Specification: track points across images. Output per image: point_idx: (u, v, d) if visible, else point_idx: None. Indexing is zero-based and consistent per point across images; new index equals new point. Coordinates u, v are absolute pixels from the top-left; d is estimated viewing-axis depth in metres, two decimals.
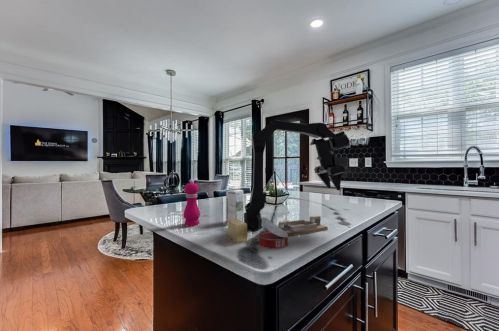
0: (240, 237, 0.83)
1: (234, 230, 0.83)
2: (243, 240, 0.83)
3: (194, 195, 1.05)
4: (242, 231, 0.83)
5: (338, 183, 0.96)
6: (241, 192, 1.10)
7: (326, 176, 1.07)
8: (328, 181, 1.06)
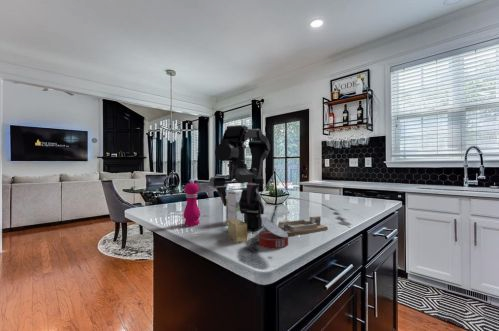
0: (240, 237, 0.83)
1: (234, 230, 0.83)
2: (243, 240, 0.83)
3: (194, 195, 1.05)
4: (242, 231, 0.83)
5: (222, 198, 0.84)
6: (241, 192, 1.10)
7: (249, 189, 0.88)
8: (249, 196, 0.88)
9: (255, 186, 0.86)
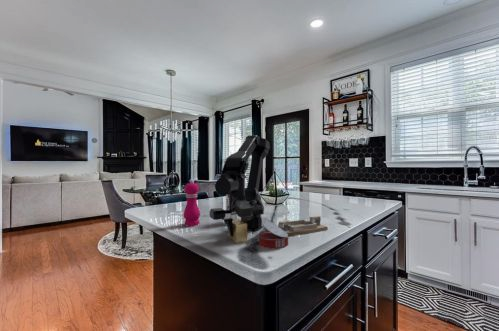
0: (240, 237, 0.83)
1: (234, 230, 0.83)
2: (243, 240, 0.83)
3: (194, 195, 1.05)
4: (242, 231, 0.83)
5: (228, 228, 0.85)
6: None
7: (243, 220, 0.87)
8: None
9: (249, 217, 0.86)
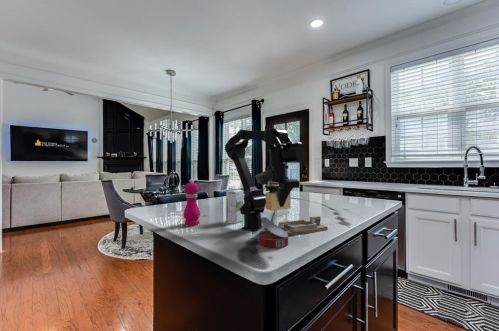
0: (267, 204, 0.88)
1: None
2: (269, 208, 0.87)
3: (194, 195, 1.05)
4: (268, 199, 0.87)
5: None
6: (241, 192, 1.10)
7: None
8: None
9: (277, 189, 0.85)
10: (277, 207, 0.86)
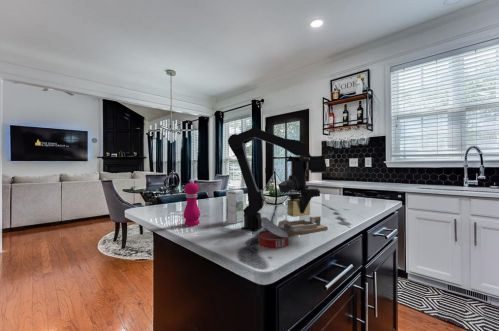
0: (289, 211, 0.95)
1: None
2: (291, 214, 0.94)
3: (194, 195, 1.05)
4: (290, 206, 0.94)
5: None
6: (241, 192, 1.10)
7: None
8: None
9: (298, 197, 0.92)
10: (298, 213, 0.94)
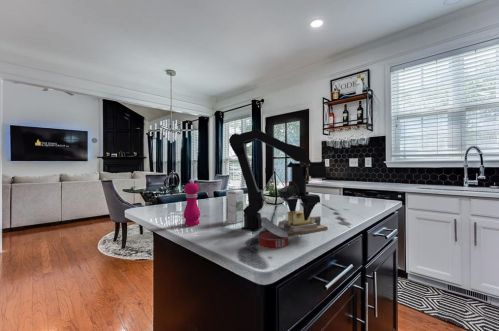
0: (289, 223, 0.95)
1: None
2: None
3: (194, 195, 1.05)
4: (290, 219, 0.95)
5: None
6: (241, 192, 1.10)
7: None
8: None
9: (302, 204, 0.90)
10: (298, 225, 0.94)
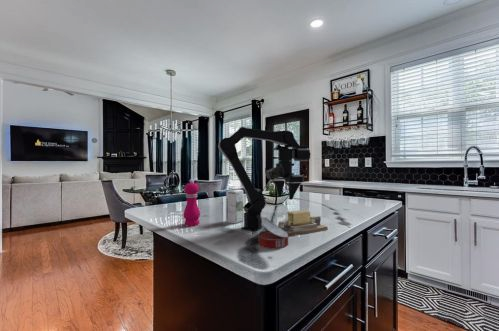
0: (289, 223, 0.95)
1: None
2: None
3: (194, 195, 1.05)
4: (290, 219, 0.95)
5: None
6: (241, 192, 1.10)
7: None
8: None
9: (286, 183, 0.96)
10: (298, 225, 0.94)
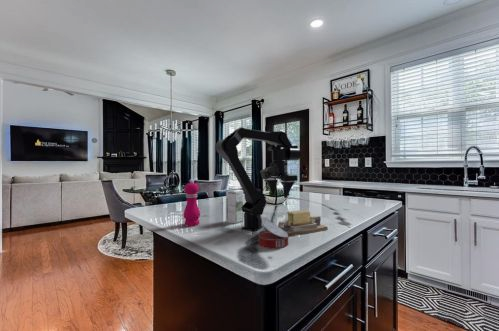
0: (289, 223, 0.95)
1: None
2: None
3: (194, 195, 1.05)
4: (290, 219, 0.95)
5: None
6: (241, 192, 1.10)
7: None
8: None
9: (282, 182, 0.99)
10: (298, 225, 0.94)
